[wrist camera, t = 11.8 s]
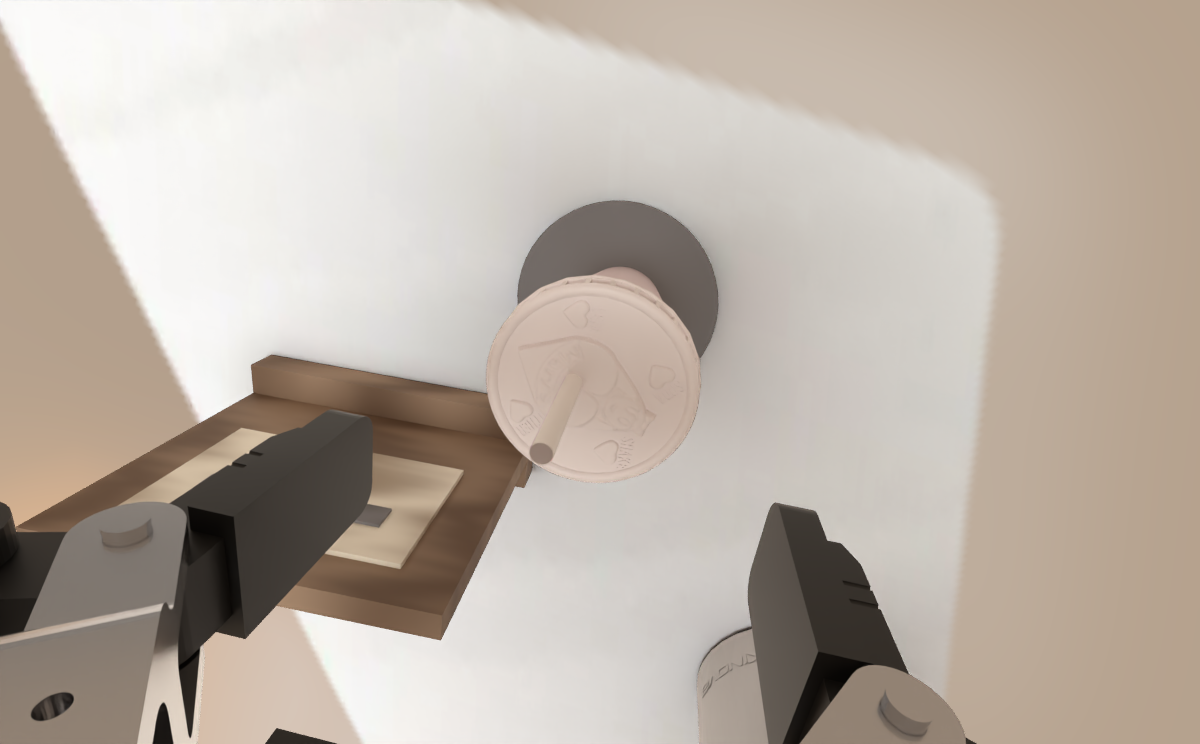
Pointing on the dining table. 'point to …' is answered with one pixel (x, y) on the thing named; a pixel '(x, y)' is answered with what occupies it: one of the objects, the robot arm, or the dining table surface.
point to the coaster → (629, 258)
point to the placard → (398, 497)
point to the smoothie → (594, 377)
